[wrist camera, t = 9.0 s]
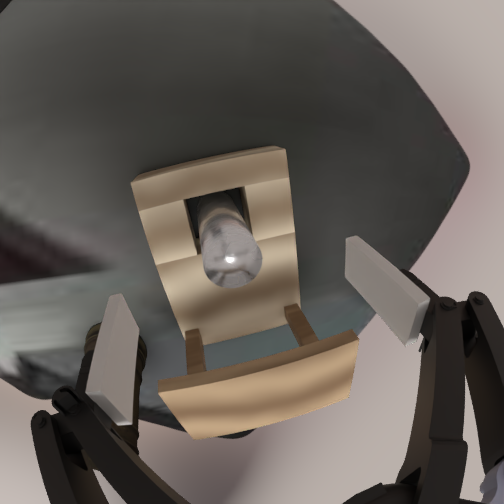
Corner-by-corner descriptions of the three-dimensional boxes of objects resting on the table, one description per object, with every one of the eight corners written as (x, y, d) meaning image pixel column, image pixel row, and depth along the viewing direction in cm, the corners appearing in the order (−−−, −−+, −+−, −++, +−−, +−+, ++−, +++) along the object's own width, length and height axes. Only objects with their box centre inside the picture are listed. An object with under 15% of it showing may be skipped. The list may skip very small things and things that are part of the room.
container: (85, 315, 31) (50, 434, 15) (150, 329, 34) (144, 454, 18) (88, 360, 34) (68, 465, 19) (144, 371, 37) (143, 480, 22)
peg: (193, 195, 28) (196, 242, 18) (231, 187, 29) (258, 228, 18) (201, 230, 30) (210, 293, 19) (237, 222, 30) (265, 280, 20)
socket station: (133, 176, 26) (76, 239, 12) (277, 144, 28) (369, 174, 13) (184, 330, 35) (194, 440, 21) (294, 303, 37) (348, 397, 23)
